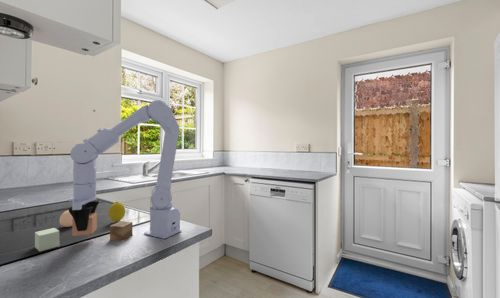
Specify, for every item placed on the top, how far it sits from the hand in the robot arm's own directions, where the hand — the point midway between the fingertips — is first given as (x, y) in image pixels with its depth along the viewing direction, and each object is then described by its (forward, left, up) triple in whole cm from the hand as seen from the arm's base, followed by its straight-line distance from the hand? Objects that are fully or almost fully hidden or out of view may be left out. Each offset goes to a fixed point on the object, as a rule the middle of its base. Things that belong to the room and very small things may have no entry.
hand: (85, 227), depth 72 cm
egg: (+19, -5, -5) cm, 20 cm away
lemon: (+8, -16, -5) cm, 18 cm away
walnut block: (-7, -7, -4) cm, 11 cm away
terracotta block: (0, 0, -1) cm, 1 cm away
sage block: (+6, +7, -4) cm, 10 cm away
